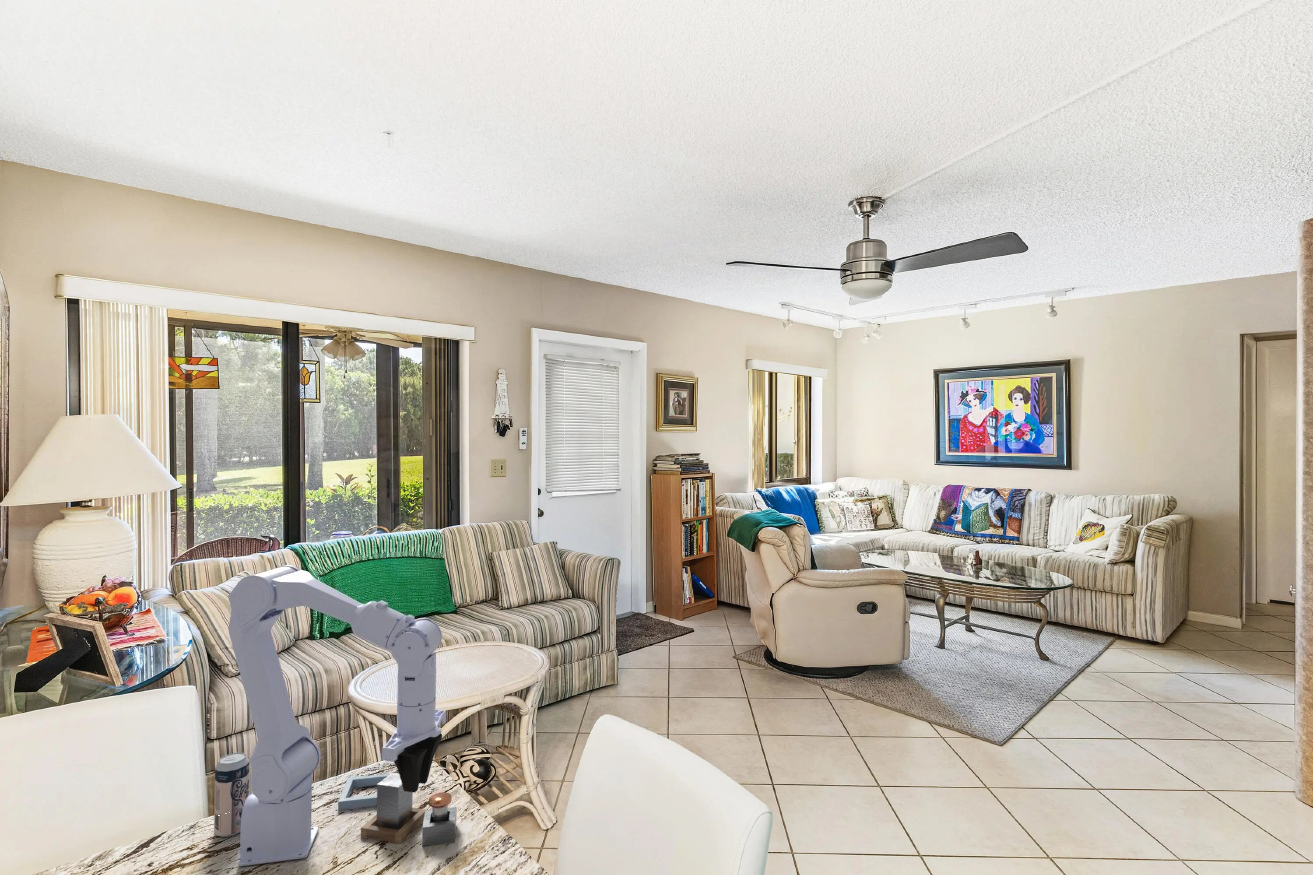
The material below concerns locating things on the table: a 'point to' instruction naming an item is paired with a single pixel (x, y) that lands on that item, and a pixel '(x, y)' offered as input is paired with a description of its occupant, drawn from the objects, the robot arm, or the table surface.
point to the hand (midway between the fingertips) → (415, 786)
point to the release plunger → (440, 806)
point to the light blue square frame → (362, 800)
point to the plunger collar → (439, 829)
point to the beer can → (230, 793)
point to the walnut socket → (390, 834)
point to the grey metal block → (393, 803)
